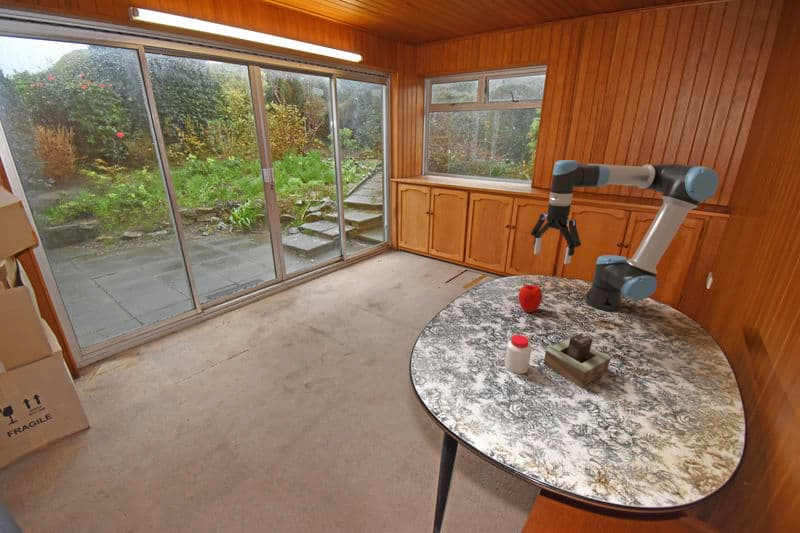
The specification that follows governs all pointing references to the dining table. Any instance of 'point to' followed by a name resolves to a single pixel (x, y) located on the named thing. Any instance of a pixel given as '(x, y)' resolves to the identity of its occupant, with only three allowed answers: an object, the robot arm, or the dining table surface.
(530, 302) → the apple
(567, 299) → the dining table surface
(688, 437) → the dining table surface
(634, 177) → the robot arm
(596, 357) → the socket block
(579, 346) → the box
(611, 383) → the dining table surface
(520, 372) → the pill bottle
